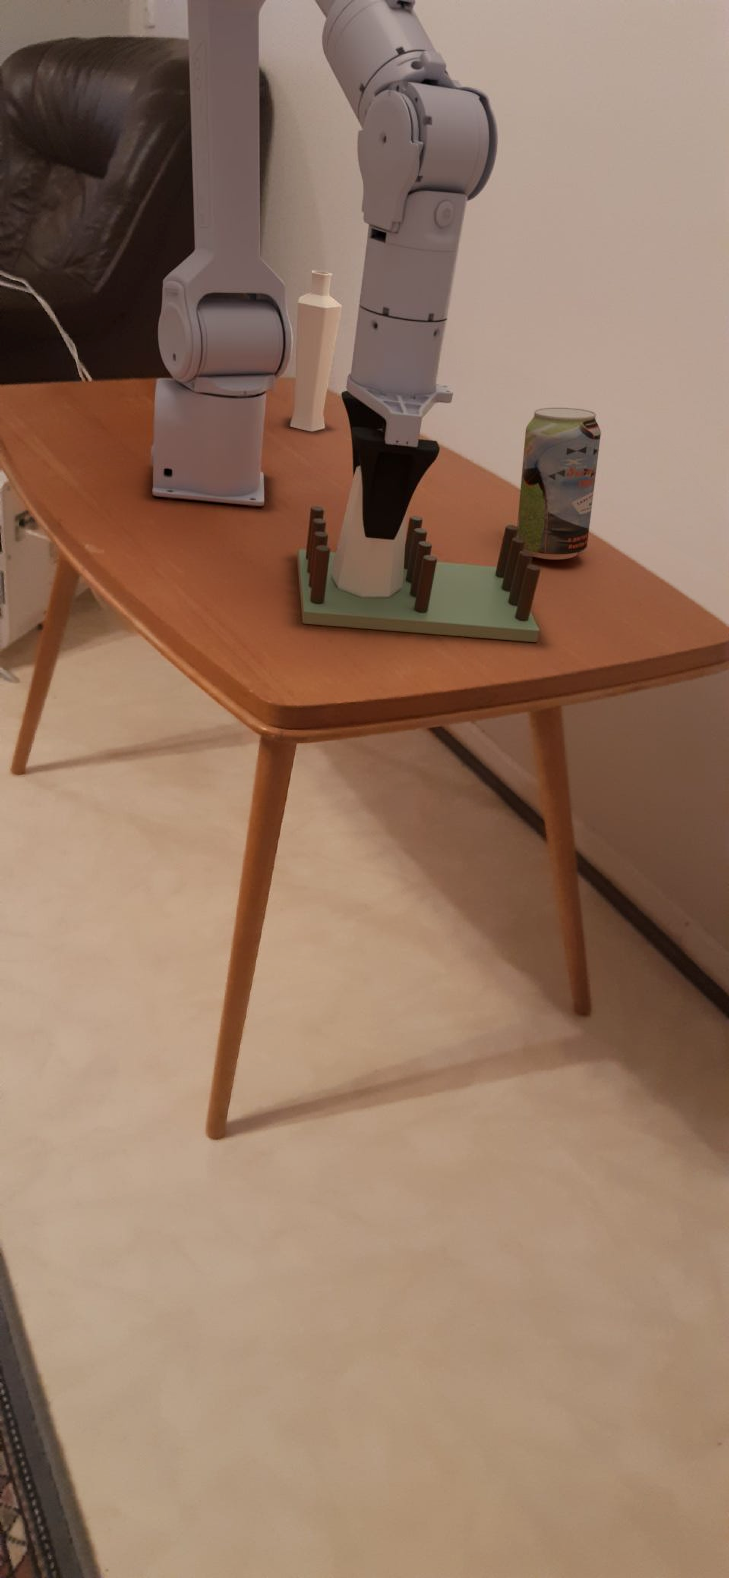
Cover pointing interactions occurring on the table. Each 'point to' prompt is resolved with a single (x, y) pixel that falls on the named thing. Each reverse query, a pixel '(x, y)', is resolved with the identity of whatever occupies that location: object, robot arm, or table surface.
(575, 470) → the beverage can
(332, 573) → the salt shaker
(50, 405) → the table surface
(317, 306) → the perfume bottle
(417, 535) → the rack
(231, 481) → the robot arm
